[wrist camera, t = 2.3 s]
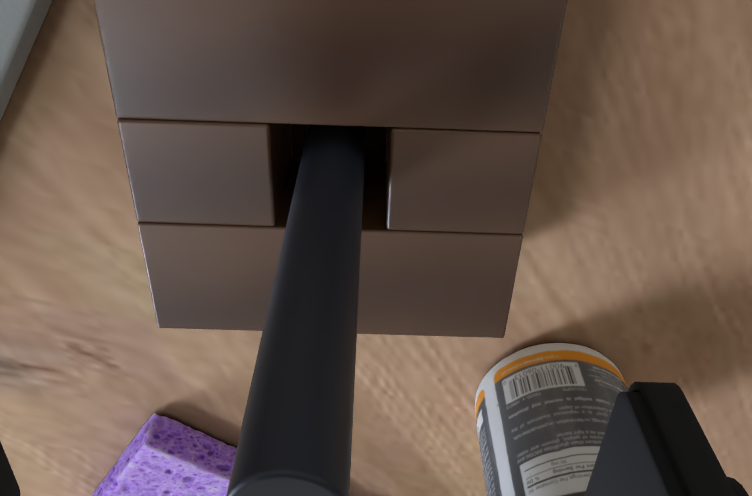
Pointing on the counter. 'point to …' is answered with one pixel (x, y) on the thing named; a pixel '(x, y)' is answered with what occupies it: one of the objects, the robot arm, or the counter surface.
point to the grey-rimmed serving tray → (17, 40)
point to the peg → (309, 332)
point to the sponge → (170, 463)
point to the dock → (332, 107)
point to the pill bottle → (545, 419)
